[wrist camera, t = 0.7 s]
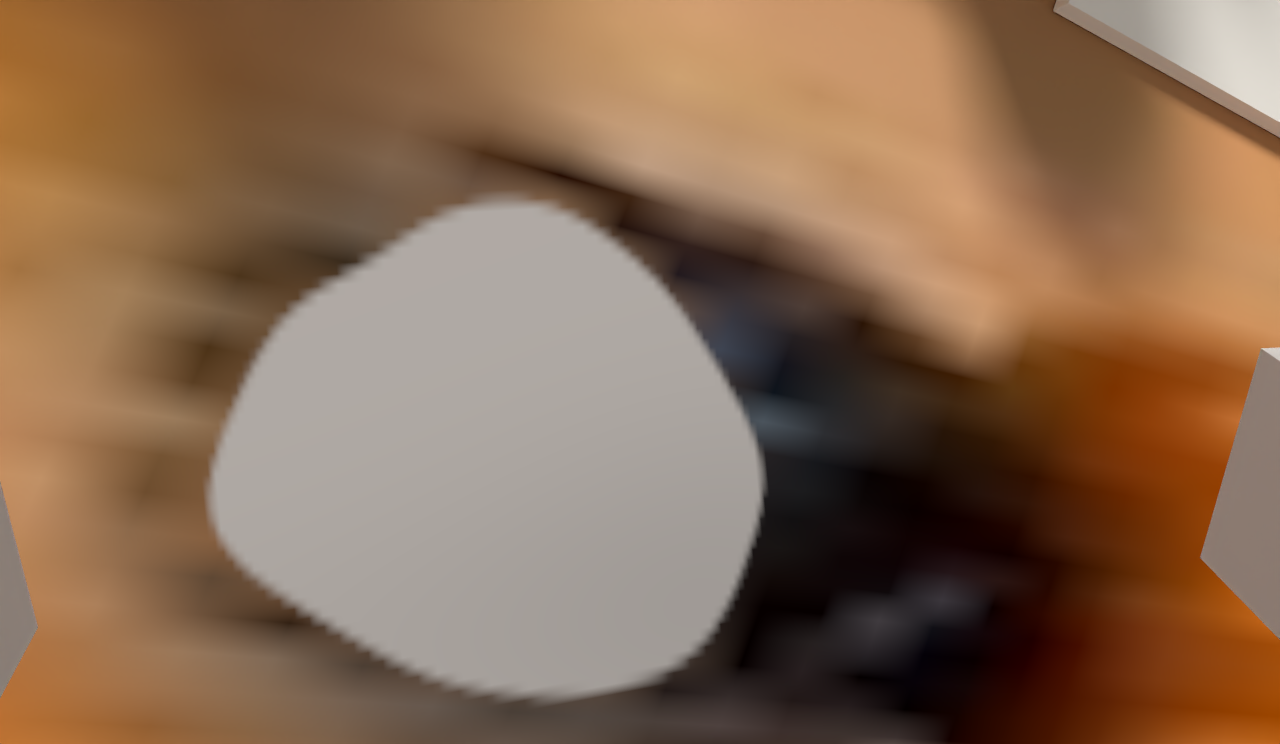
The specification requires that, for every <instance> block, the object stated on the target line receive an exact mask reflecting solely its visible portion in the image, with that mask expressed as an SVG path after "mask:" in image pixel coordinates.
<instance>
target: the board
mask: <svg viewBox="0 0 1280 744" xmlns="http://www.w3.org/2000/svg"><path fill="white" fill-rule="evenodd" d="M1053 11H1054V12H1056V13H1058V14H1059V15H1061V16H1063V17H1065V18H1066V19H1068V20H1070V21H1072V22H1074V23H1075V24H1077V25H1079V26H1081V27H1083V28H1084V29H1086V30H1088V31H1090V32H1092V33H1093V34H1095V35H1097V36H1099V37H1100V38H1102V39H1104V40H1106V41H1108V42H1109V43H1111V44H1113V45H1115V46H1117V47H1118V48H1120V49H1122V50H1124V51H1126V52H1127V53H1129V54H1131V55H1133V56H1134V57H1136V58H1138V59H1140V60H1142V61H1143V62H1145V63H1147V64H1149V65H1151V66H1152V67H1154V68H1156V69H1158V70H1160V71H1161V72H1163V73H1165V74H1167V75H1168V76H1170V77H1172V78H1174V79H1176V80H1177V81H1179V82H1181V83H1183V84H1185V85H1186V86H1188V87H1190V88H1192V89H1194V90H1195V91H1197V92H1199V93H1201V94H1202V95H1204V96H1206V97H1208V98H1210V99H1211V100H1213V101H1215V102H1217V103H1219V104H1220V105H1222V106H1224V107H1226V108H1228V109H1229V110H1231V111H1233V112H1235V113H1236V114H1238V115H1240V116H1242V117H1244V118H1245V119H1247V120H1249V121H1251V122H1253V123H1254V124H1256V125H1258V126H1260V127H1262V128H1263V129H1265V130H1267V131H1269V132H1270V133H1272V134H1274V135H1276V136H1278V137H1279V138H1280V0H1056V3H1055V6H1054V9H1053Z"/></svg>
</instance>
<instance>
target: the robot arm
mask: <svg viewBox="0 0 1280 744" xmlns="http://www.w3.org/2000/svg"><path fill="white" fill-rule="evenodd" d="M1200 558H1201V559H1202V560H1203V561H1204V562H1205V563H1206V564H1207V565H1208V566H1209V567H1210V568H1211V569H1212V570H1213V571H1214V572H1215V573H1216V574H1217V575H1218V576H1219V578H1220V579H1221V580H1222V581H1223V582H1224V583H1225V584H1226V585H1227V586H1228V587H1229V588H1230V589H1231V590H1232V591H1233V592H1234V593H1235V594H1236V595H1237V596H1238V597H1239V598H1240V599H1241V600H1242V601H1243V602H1244V603H1245V604H1246V605H1247V606H1248V607H1249V608H1250V609H1251V610H1252V611H1253V612H1254V614H1255V615H1256V616H1257V617H1258V618H1259V619H1260V620H1261V621H1262V622H1263V623H1264V624H1265V625H1266V626H1267V627H1268V628H1269V629H1270V630H1271V631H1272V632H1273V633H1274V634H1275V635H1276V636H1277V637H1278V638H1279V639H1280V348H1261V351H1260V354H1259V357H1258V361H1257V364H1256V368H1255V371H1254V375H1253V378H1252V381H1251V385H1250V388H1249V392H1248V395H1247V399H1246V402H1245V406H1244V409H1243V412H1242V416H1241V419H1240V423H1239V426H1238V430H1237V433H1236V436H1235V440H1234V443H1233V447H1232V450H1231V454H1230V457H1229V461H1228V464H1227V467H1226V471H1225V474H1224V478H1223V481H1222V485H1221V488H1220V491H1219V495H1218V498H1217V502H1216V505H1215V509H1214V512H1213V516H1212V519H1211V522H1210V526H1209V529H1208V533H1207V536H1206V540H1205V543H1204V546H1203V550H1202V553H1201V557H1200ZM37 628H38V626H37V622H36V618H35V614H34V610H33V606H32V603H31V599H30V595H29V591H28V587H27V583H26V579H25V576H24V572H23V568H22V564H21V560H20V556H19V552H18V549H17V545H16V541H15V537H14V533H13V529H12V525H11V522H10V518H9V514H8V510H7V506H6V502H5V498H4V495H3V491H2V487H1V483H0V697H1V695H2V693H3V692H4V690H5V688H6V686H7V684H8V682H9V680H10V678H11V677H12V675H13V673H14V671H15V669H16V667H17V665H18V663H19V662H20V660H21V658H22V656H23V654H24V652H25V650H26V649H27V647H28V645H29V643H30V641H31V639H32V637H33V635H34V634H35V632H36V630H37Z"/></svg>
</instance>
